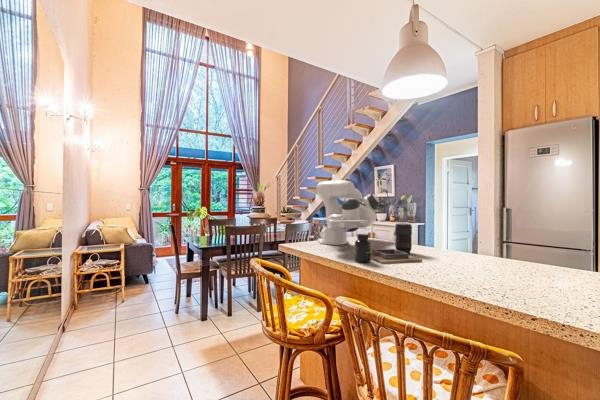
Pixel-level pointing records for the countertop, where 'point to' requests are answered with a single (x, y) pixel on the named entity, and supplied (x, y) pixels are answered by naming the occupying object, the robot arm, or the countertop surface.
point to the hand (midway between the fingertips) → (354, 225)
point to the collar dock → (392, 256)
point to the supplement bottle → (362, 249)
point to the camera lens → (403, 237)
